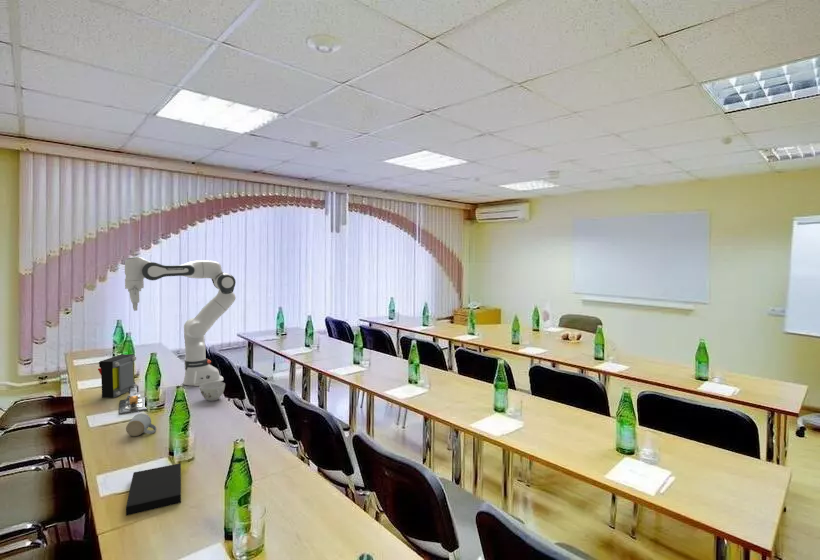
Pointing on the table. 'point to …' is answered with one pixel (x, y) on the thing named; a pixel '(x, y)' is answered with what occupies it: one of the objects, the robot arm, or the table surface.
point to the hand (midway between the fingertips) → (135, 309)
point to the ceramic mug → (140, 425)
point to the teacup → (212, 390)
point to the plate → (132, 406)
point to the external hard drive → (154, 489)
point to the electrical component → (117, 375)
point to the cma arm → (133, 394)
